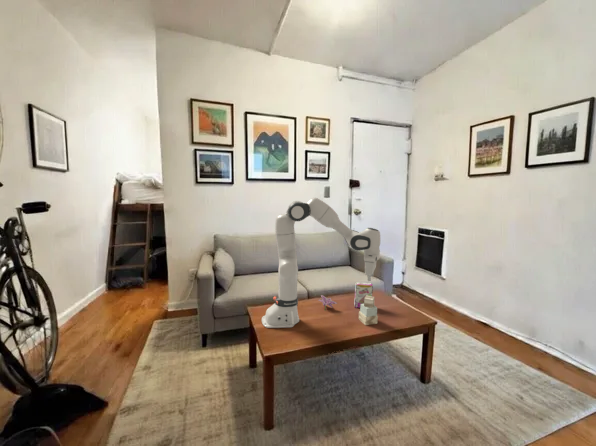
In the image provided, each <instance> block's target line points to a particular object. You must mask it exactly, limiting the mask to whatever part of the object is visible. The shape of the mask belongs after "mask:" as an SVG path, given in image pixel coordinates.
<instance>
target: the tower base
mask: <svg viewBox="0 0 596 446" xmlns="http://www.w3.org/2000/svg"><path fill="white" fill-rule="evenodd" d="M378 319H379V316H378V315H377V316H370V317H366V316H365V315H363V314H362V313H361V312H360V310H359V311H358V320H359V321H360V322H361V323H362V324H363V325H364V326H369V325H376V324H378Z"/></svg>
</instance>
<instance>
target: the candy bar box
mask: <svg viewBox="0 0 596 446" xmlns="http://www.w3.org/2000/svg"><path fill="white" fill-rule="evenodd" d="M354 284H355V285H354V286H355V287H354V302H353V304H354V308H355V309H357V308H358V309H360V306H361V304H364V298H365V297H366V295H367V296H372V297H373V289H374V285H373V283H371V282H362V281H361V282H357V281H356V282H355V283H354Z"/></svg>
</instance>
